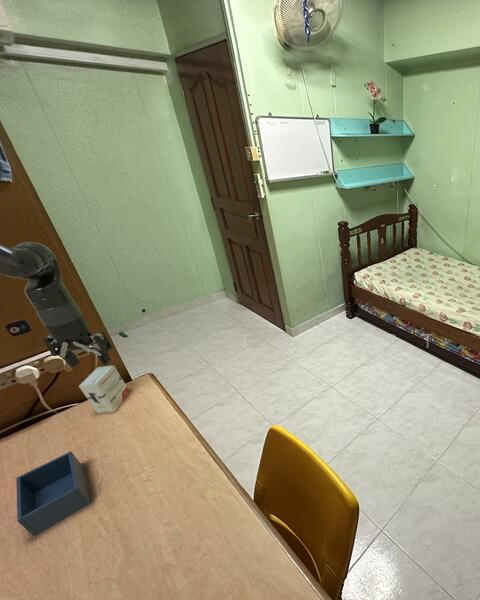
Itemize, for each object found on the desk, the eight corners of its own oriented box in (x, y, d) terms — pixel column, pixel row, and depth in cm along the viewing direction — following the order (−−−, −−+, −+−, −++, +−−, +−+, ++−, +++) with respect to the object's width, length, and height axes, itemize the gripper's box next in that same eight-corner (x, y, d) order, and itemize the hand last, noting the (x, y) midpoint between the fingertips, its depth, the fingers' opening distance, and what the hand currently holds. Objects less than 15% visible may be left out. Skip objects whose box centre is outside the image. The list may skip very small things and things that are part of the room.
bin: (34, 537, 66) (17, 521, 63) (32, 493, 74) (16, 477, 71) (91, 503, 72) (78, 487, 69) (83, 467, 80) (71, 450, 77)
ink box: (113, 393, 102) (97, 366, 96) (130, 392, 103) (115, 364, 97) (96, 414, 95) (77, 385, 89) (114, 412, 95) (96, 384, 90)
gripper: (101, 309, 87) (125, 354, 95) (45, 311, 86) (75, 357, 94) (80, 324, 80) (108, 371, 88) (19, 326, 79) (53, 374, 87)
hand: (91, 364), depth 91 cm, fingers open, 8 cm apart
